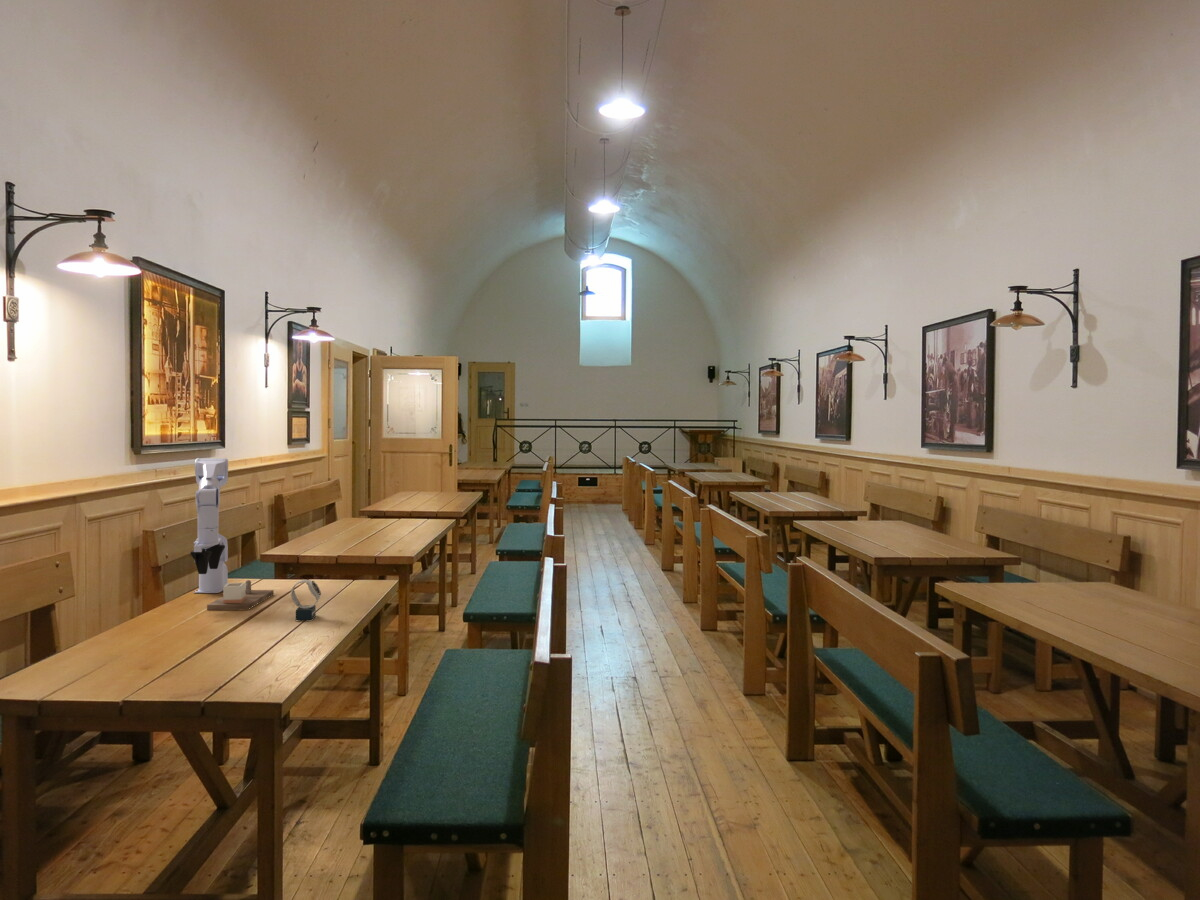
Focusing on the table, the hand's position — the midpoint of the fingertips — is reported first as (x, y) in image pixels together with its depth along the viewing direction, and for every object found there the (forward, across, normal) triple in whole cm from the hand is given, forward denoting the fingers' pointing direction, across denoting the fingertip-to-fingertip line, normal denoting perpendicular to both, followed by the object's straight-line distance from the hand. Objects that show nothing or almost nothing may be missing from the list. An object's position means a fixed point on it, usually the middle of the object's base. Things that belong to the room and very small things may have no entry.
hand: (208, 571), depth 238 cm
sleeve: (+8, +4, +10) cm, 13 cm away
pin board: (+10, -1, +10) cm, 14 cm away
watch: (+10, +18, +35) cm, 41 cm away
